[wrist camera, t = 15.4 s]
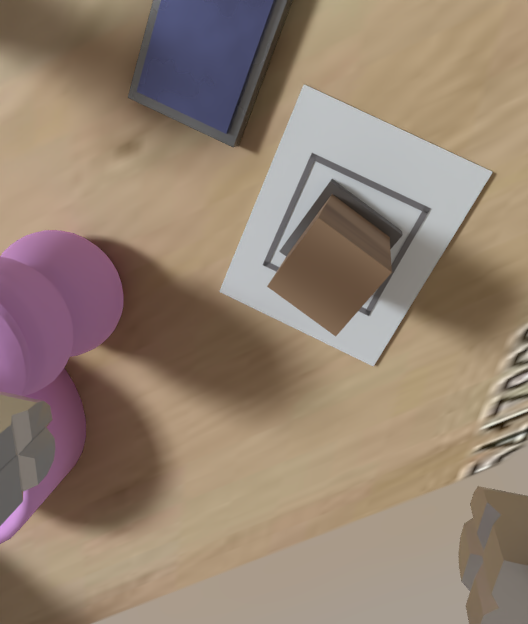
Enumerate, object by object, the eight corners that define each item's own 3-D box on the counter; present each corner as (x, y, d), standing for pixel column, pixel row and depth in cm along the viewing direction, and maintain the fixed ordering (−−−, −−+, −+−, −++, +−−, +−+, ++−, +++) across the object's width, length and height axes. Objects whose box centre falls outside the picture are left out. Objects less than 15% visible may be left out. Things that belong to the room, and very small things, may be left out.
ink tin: (238, 146, 26) (231, 147, 25) (136, 98, 26) (125, 97, 25) (301, -24, 22) (296, -31, 21) (183, -77, 23) (172, -88, 21)
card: (373, 364, 29) (373, 366, 29) (220, 290, 29) (218, 292, 29) (491, 171, 24) (493, 172, 23) (304, 84, 24) (303, 84, 24)
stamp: (347, 294, 27) (337, 350, 21) (282, 246, 27) (252, 288, 21) (402, 230, 25) (408, 270, 19) (332, 178, 25) (315, 201, 19)
